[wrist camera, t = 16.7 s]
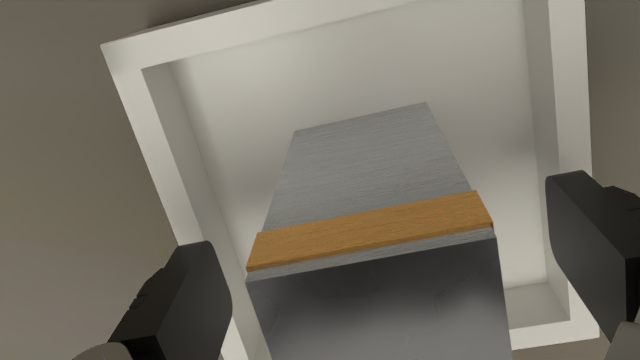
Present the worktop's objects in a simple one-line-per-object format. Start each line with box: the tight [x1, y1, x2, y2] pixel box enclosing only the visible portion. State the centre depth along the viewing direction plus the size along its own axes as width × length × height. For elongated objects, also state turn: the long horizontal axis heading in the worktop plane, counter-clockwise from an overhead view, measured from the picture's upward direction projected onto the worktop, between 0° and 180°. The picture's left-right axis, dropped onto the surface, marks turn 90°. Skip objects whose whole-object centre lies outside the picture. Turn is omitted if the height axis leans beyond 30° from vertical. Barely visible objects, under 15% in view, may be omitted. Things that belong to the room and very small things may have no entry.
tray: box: [100, 0, 599, 360], centre depth 16 cm, size 12×12×3 cm
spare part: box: [245, 102, 513, 360], centre depth 12 cm, size 4×4×8 cm
